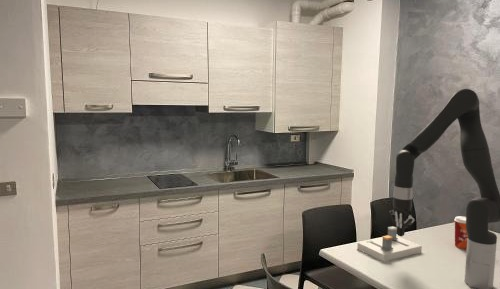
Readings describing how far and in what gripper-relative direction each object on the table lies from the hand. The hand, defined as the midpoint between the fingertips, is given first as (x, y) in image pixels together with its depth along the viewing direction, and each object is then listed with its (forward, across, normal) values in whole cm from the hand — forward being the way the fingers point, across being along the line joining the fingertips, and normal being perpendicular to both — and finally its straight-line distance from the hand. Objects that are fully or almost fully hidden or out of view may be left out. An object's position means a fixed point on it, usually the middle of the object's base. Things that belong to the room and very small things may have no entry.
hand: (400, 235), depth 158 cm
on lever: (+8, +15, -11) cm, 20 cm away
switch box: (+12, +10, -5) cm, 16 cm away
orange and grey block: (+8, +6, +1) cm, 10 cm away
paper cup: (+12, 0, -41) cm, 43 cm away
